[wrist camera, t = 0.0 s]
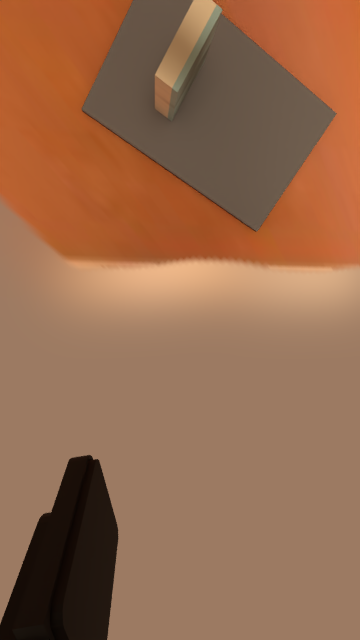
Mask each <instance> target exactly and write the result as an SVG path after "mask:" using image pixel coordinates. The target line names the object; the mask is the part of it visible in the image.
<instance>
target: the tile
mask: <svg viewBox="0 0 360 640" xmlns="http://www.w3.org/2000/svg"><path fill="white" fill-rule="evenodd" d="M221 13H222V9H221V8H220V7H219V6H218V5H217V4H216V3H214V2H213V1H212V0H193V2H192V4H191V6H190V8H189V10H188V12H187V14H186V16H185V18H184V19H183V21H182V23H181V25H180V27H179V29H178V31H177V33H176V35H175V37H174V39H173V41H172V43H171V45H170V46H169V48H168V50H167V52H166V54H165V56H164V58H163V60H162V62H161V64H160V66H159V68H158V70H157V72H156V74H155V109H156V110H157V111H158V112H160V113H161V114H163V115H164V116H165V117H167V118H168V119H169V120H171V121H172V120H173V118H174V116H175V114H176V113H177V111H178V109H179V107H180V105H181V104H182V102H183V100H184V98H185V96H186V94H187V93H188V91H189V89H190V87H191V85H192V84H193V82H194V80H195V78H196V76H197V74H198V73H199V71H200V69H201V67H202V65H203V64H204V62H205V59H206V56H207V53H208V50H209V47H210V44H211V41H212V39H213V36H214V33H215V30H216V27H217V24H218V21H219V18H220V15H221Z"/></svg>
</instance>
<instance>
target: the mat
mask: <svg viewBox="0 0 360 640" xmlns="http://www.w3.org/2000/svg"><path fill="white" fill-rule="evenodd" d="M192 2H193V0H133V2H132V4H131V6H130V8H129V10H128V12H127V15H126V17H125V19H124V21H123V23H122V25H121V27H120V29H119V31H118V33H117V36H116V38H115V40H114V42H113V44H112V46H111V48H110V50H109V52H108V54H107V57H106V59H105V61H104V63H103V65H102V67H101V69H100V71H99V73H98V76H97V78H96V80H95V82H94V84H93V86H92V88H91V90H90V92H89V94H88V97H87V99H86V101H85V103H84V105H83V107H82V111H83V112H85V113H86V114H87V115H89V116H90V117H92V118H93V119H95V120H96V121H98V122H99V123H100V124H102V125H103V126H105V127H106V128H108V129H109V130H110V131H112V132H113V133H115V134H116V135H118V136H119V137H121V138H122V139H123V140H125V141H126V142H128V143H129V144H131V145H132V146H134V147H135V148H136V149H138V150H139V151H141V152H142V153H144V154H145V155H146V156H148V157H149V158H151V159H152V160H154V161H155V162H157V163H158V164H159V165H161V166H162V167H164V168H165V169H167V170H168V171H169V172H171V173H172V174H174V175H175V176H177V177H178V178H180V179H181V180H182V181H184V182H185V183H187V184H188V185H190V186H191V187H192V188H194V189H195V190H197V191H198V192H200V193H201V194H203V195H204V196H205V197H207V198H208V199H210V200H211V201H213V202H214V203H216V204H217V205H218V206H220V207H221V208H223V209H224V210H226V211H227V212H228V213H230V214H231V215H233V216H234V217H236V218H237V219H239V220H240V221H241V222H243V223H244V224H246V225H247V226H249V227H250V228H251V229H253V230H254V231H258V230H259V228H260V227H261V225H262V224H263V222H264V221H265V219H266V218H267V216H268V215H269V213H270V212H271V210H272V209H273V207H274V206H275V204H276V203H277V201H278V200H279V198H280V197H281V195H282V194H283V192H284V191H285V189H286V188H287V187H288V185H289V184H290V182H291V181H292V179H293V178H294V176H295V175H296V173H297V172H298V170H299V169H300V167H301V166H302V164H303V163H304V161H305V160H306V158H307V157H308V155H309V154H310V152H311V151H312V149H313V148H314V146H315V145H316V144H317V142H318V141H319V139H320V138H321V136H322V135H323V133H324V132H325V130H326V129H327V127H328V126H329V124H330V123H331V121H332V120H333V118H334V117H335V115H336V114H337V113H335V112H334V111H333V110H332V109H331V108H330V107H328V106H327V105H326V104H325V103H324V102H323V101H322V100H320V99H319V98H318V97H317V96H316V95H315V94H313V93H312V92H311V91H310V90H309V89H308V88H307V87H305V86H304V85H303V84H302V83H301V82H300V81H299V80H297V79H296V78H295V77H294V76H293V75H292V74H290V73H289V72H288V71H287V70H286V69H285V68H284V67H282V66H281V65H280V64H279V63H278V62H277V61H275V60H274V59H273V58H272V57H271V56H270V55H269V54H267V53H266V52H265V51H264V50H263V49H262V48H260V47H259V46H258V45H257V44H256V43H255V42H254V41H252V40H251V39H250V38H249V37H248V36H247V35H245V34H244V33H243V32H242V31H241V30H240V29H239V28H237V27H236V26H235V25H234V24H233V23H232V22H230V21H229V20H228V19H227V18H226V17H225V16H224V15H222V14H221V15H220V18H219V21H218V24H217V27H216V30H215V33H214V36H213V39H212V41H211V44H210V47H209V50H208V53H207V56H206V59H205V62H204V64H203V65H202V67H201V69H200V71H199V73H198V74H197V76H196V78H195V80H194V82H193V84H192V85H191V87H190V89H189V91H188V93H187V94H186V96H185V98H184V100H183V102H182V104H181V105H180V107H179V109H178V111H177V113H176V114H175V116H174V118H173V120H172V121H171V120H169V119H168V118H167V117H165V116H164V115H163V114H161V113H160V112H158V111H157V110H156V109H155V74H156V72H157V70H158V68H159V66H160V64H161V62H162V60H163V58H164V56H165V54H166V52H167V50H168V48H169V46H170V45H171V43H172V41H173V39H174V37H175V35H176V33H177V31H178V29H179V27H180V25H181V23H182V21H183V19H184V18H185V16H186V14H187V12H188V10H189V8H190V6H191V4H192Z"/></svg>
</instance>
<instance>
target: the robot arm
mask: <svg viewBox="0 0 360 640" xmlns="http://www.w3.org/2000/svg"><path fill="white" fill-rule="evenodd" d="M117 544H118V527H117V523H116V519H115V515H114V512H113V508H112V505H111V501H110V498H109V494H108V491H107V487H106V483H105V480H104V476H103V473H102V469H101V466H100V462H99V460H98V459H95V460H93V458H92V456H91V455H87V456H81V457H75V458H71V459H70V460H69V462H68V464H67V468H66V470H65V474H64V476H63V479H62V482H61V486H60V489H59V491H58V494H57V497H56V500H55V503H54V506H53V509H52V512H51V513H45V514H43V515H42V516H41V517H40V519H39V521H38V524H37V526H36V529H35V531H34V534H33V537H32V540H31V543H30V545H29V548H28V551H27V553H26V556H25V559H24V561H23V564H22V567H21V569H20V572H19V575H18V578H17V580H16V583H15V586H14V589H13V592H12V594H11V597H10V599H9V602H8V605H7V608H6V610H5V613H4V616H3V618H2V621H1V624H0V640H107V636H108V626H109V617H110V608H111V599H112V590H113V581H114V571H115V563H116V554H117V553H116V552H117Z"/></svg>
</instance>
